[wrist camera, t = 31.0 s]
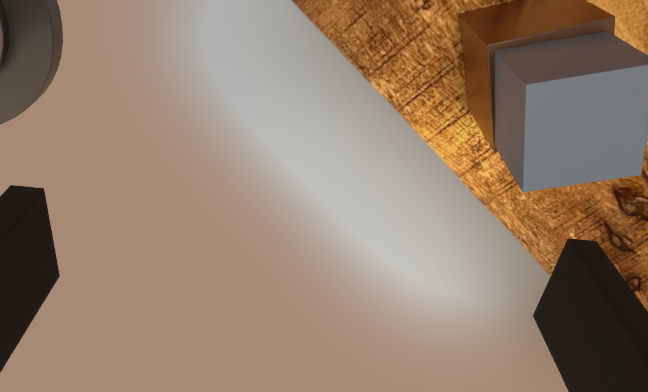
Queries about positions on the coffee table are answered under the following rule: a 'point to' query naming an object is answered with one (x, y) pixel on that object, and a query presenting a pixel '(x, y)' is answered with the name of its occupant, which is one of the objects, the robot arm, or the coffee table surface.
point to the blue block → (571, 110)
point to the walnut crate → (517, 42)
